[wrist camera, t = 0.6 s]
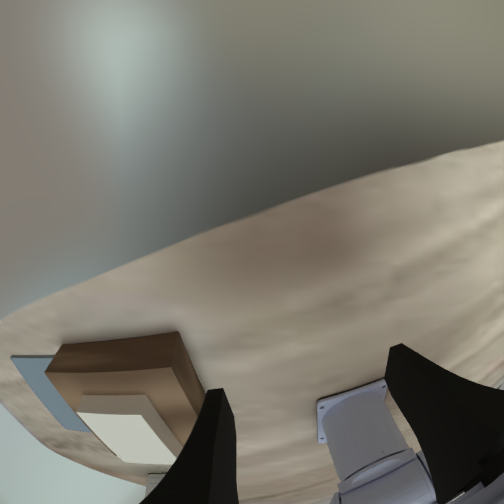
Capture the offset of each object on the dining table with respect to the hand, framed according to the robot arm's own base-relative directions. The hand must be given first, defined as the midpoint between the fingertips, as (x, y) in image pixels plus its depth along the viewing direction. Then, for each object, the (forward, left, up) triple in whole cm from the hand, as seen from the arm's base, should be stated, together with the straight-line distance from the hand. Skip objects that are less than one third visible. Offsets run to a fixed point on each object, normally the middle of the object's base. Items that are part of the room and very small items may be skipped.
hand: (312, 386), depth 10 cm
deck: (-9, +14, -10) cm, 19 cm away
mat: (-10, +25, -10) cm, 29 cm away
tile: (-9, +14, -6) cm, 17 cm away
